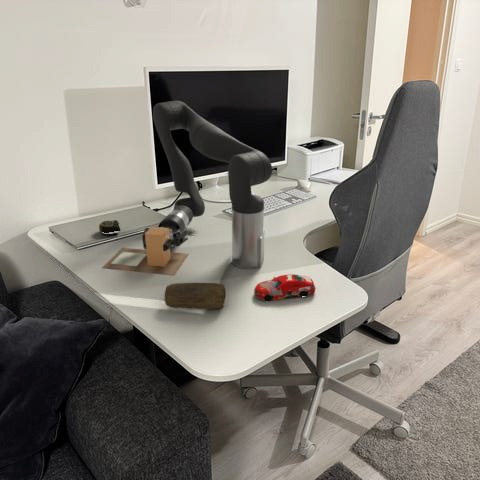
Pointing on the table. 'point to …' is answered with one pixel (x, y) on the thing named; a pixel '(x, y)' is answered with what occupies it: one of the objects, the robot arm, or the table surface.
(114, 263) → the board
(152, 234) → the tall wooden pillar
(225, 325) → the table surface
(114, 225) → the tape measure
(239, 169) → the robot arm
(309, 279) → the race car
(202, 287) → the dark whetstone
